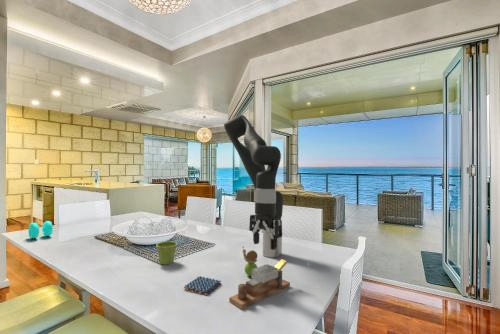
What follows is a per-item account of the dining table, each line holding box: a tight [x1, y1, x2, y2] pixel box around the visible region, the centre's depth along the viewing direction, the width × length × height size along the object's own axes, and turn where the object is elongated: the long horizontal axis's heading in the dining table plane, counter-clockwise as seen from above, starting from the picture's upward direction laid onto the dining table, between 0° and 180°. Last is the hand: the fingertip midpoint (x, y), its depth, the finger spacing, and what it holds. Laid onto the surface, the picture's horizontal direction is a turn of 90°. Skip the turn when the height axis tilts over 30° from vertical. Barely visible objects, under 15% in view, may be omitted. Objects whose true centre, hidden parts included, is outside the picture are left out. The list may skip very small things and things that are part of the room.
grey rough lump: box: [250, 263, 278, 283], centre depth 89 cm, size 8×6×3 cm
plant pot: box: [155, 240, 178, 266], centre depth 116 cm, size 9×9×9 cm
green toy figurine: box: [242, 246, 259, 277], centre depth 103 cm, size 5×6×12 cm
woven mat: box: [183, 275, 222, 296], centre depth 92 cm, size 10×11×2 cm
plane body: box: [228, 269, 291, 310], centre depth 88 cm, size 24×6×7 cm, turn 132°
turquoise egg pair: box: [28, 220, 54, 239], centre depth 155 cm, size 10×10×10 cm
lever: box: [274, 258, 288, 274], centre depth 94 cm, size 1×4×6 cm
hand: (264, 246), depth 89 cm, fingers open, 8 cm apart
